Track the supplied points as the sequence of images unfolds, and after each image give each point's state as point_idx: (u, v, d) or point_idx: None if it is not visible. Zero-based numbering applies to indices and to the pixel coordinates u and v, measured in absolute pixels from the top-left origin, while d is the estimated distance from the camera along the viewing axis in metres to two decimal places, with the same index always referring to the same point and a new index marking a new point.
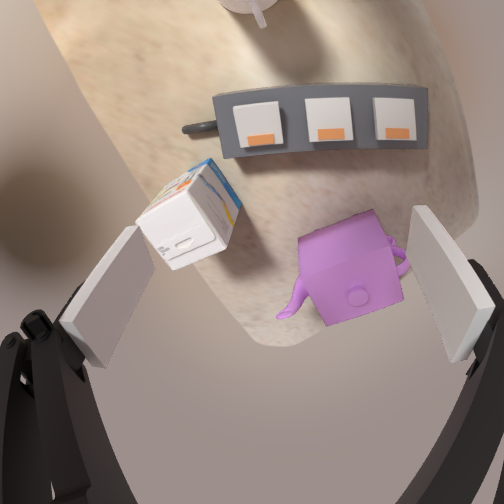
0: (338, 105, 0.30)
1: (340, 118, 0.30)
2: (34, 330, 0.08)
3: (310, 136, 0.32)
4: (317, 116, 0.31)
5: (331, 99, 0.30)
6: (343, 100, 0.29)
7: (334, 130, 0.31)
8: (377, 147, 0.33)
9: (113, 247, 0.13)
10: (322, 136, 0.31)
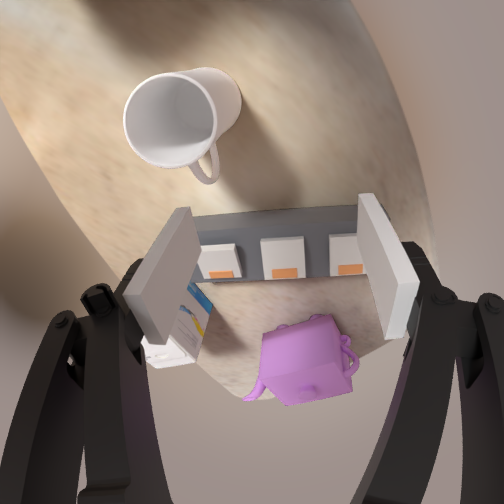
0: (292, 247, 0.35)
1: (294, 259, 0.36)
2: (95, 304, 0.09)
3: (265, 275, 0.37)
4: (272, 257, 0.36)
5: (285, 242, 0.35)
6: (297, 242, 0.35)
7: (287, 270, 0.36)
8: None
9: (167, 226, 0.14)
10: (276, 275, 0.37)
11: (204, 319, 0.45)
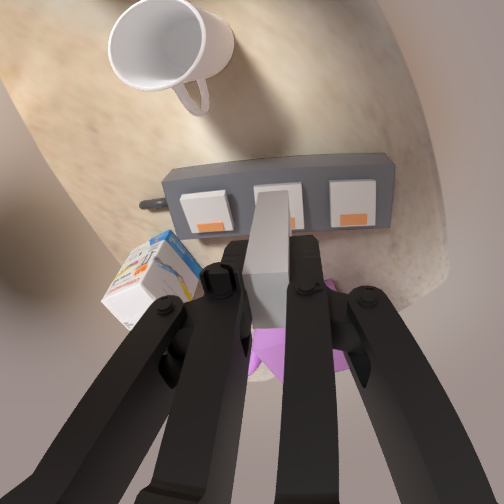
0: (289, 193, 0.31)
1: (291, 207, 0.32)
2: (215, 283, 0.09)
3: None
4: None
5: (281, 187, 0.31)
6: (294, 187, 0.31)
7: None
8: (333, 229, 0.35)
9: (259, 208, 0.14)
10: None
11: (193, 283, 0.42)
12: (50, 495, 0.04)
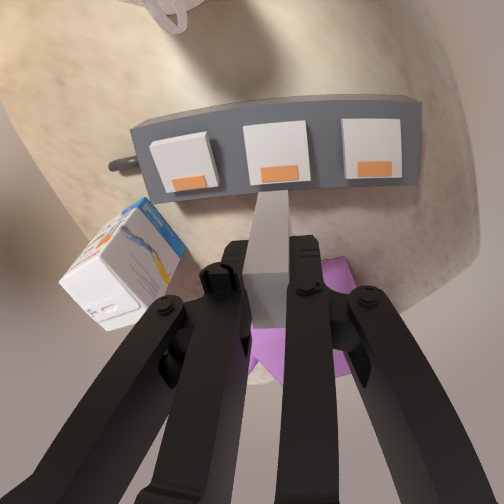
0: (289, 133, 0.23)
1: (292, 151, 0.23)
2: (215, 283, 0.09)
3: (251, 177, 0.25)
4: (260, 149, 0.24)
5: (279, 124, 0.23)
6: (297, 125, 0.22)
7: (284, 168, 0.24)
8: (347, 185, 0.26)
9: (259, 208, 0.14)
10: (267, 177, 0.24)
11: (172, 262, 0.33)
12: (50, 495, 0.04)
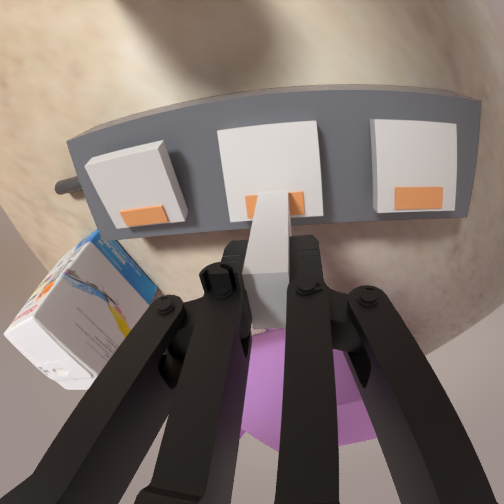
0: (291, 141, 0.14)
1: (295, 169, 0.15)
2: (215, 283, 0.09)
3: (231, 211, 0.16)
4: (245, 167, 0.15)
5: (275, 127, 0.14)
6: (303, 128, 0.14)
7: None
8: (375, 218, 0.18)
9: (259, 208, 0.14)
10: None
11: (137, 311, 0.25)
12: (50, 495, 0.04)
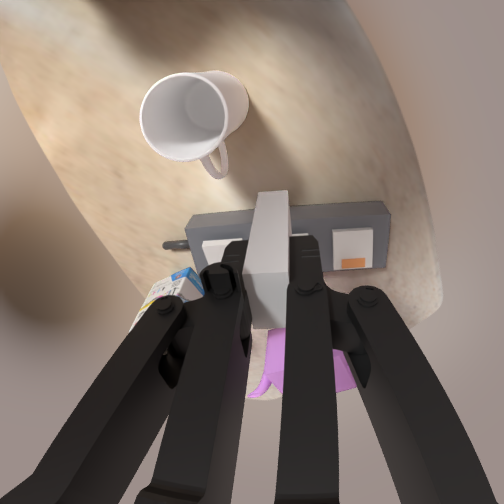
0: None
1: None
2: (215, 283, 0.09)
3: None
4: None
5: None
6: None
7: None
8: (335, 270, 0.40)
9: (259, 208, 0.14)
10: None
11: None
12: (50, 495, 0.04)
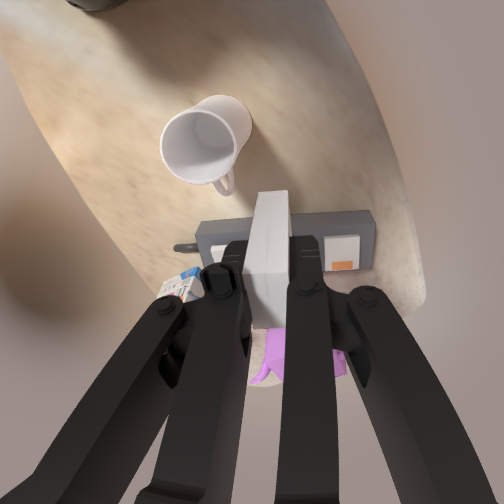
0: None
1: None
2: (215, 283, 0.09)
3: None
4: None
5: None
6: None
7: None
8: None
9: (259, 208, 0.14)
10: None
11: None
12: (50, 495, 0.04)
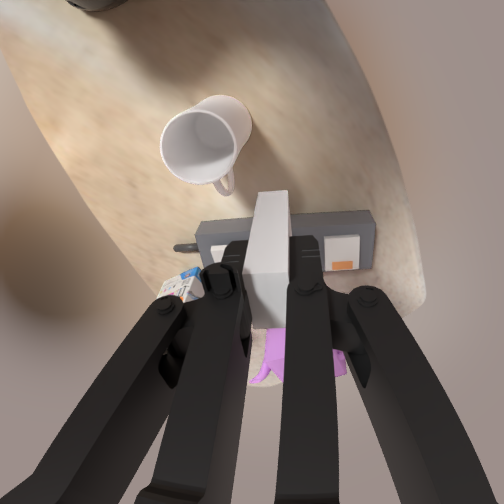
0: None
1: None
2: (215, 283, 0.09)
3: None
4: None
5: None
6: None
7: None
8: None
9: (259, 208, 0.14)
10: None
11: None
12: (50, 495, 0.04)
